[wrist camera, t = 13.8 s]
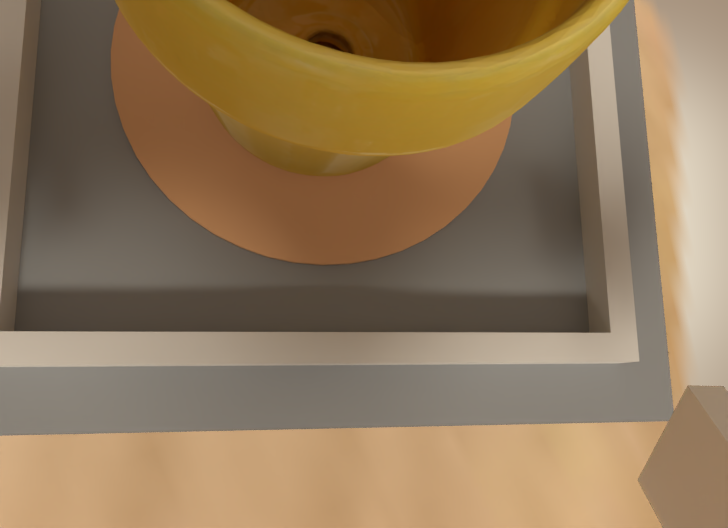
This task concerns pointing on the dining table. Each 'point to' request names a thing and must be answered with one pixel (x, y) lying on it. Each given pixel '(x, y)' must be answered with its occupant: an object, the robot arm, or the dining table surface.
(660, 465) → the robot arm
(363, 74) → the plant pot
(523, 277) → the grey square tray
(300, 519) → the dining table surface
